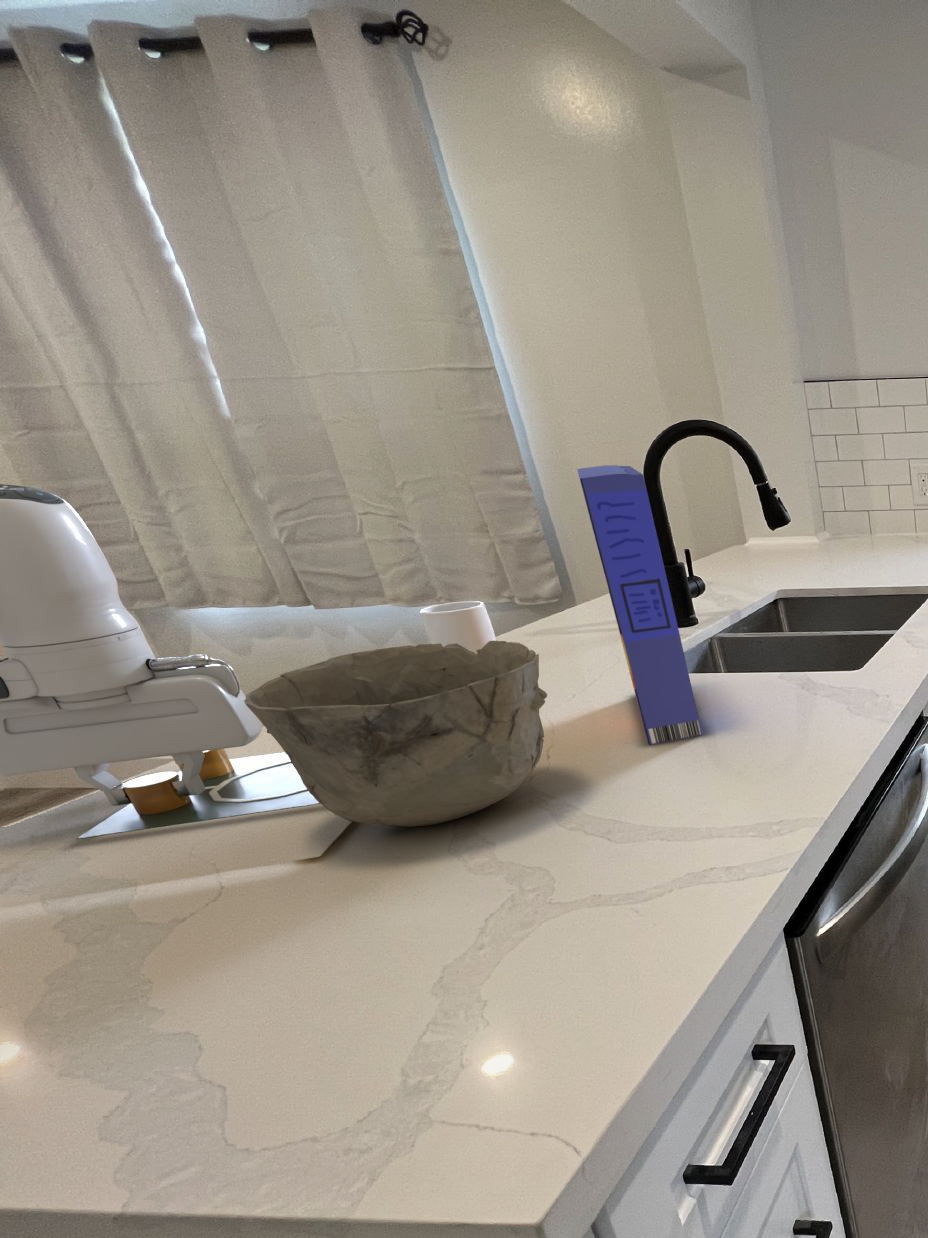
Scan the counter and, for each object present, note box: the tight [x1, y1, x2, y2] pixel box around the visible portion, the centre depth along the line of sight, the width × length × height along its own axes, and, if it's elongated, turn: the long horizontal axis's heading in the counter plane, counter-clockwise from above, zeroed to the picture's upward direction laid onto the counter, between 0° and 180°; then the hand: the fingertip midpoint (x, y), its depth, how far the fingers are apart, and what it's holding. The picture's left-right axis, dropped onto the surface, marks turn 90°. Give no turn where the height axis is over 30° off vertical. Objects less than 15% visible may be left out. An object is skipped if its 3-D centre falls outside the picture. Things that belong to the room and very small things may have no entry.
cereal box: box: [576, 464, 703, 746], centre depth 104 cm, size 22×6×30 cm, turn 28°
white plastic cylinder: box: [420, 600, 497, 654], centre depth 108 cm, size 7×7×15 cm
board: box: [76, 751, 321, 840], centre depth 92 cm, size 20×20×1 cm
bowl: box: [244, 640, 548, 828], centre depth 82 cm, size 22×22×15 cm
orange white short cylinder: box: [123, 771, 191, 815], centre depth 86 cm, size 4×4×3 cm
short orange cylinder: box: [177, 748, 234, 781], centre depth 94 cm, size 4×4×3 cm
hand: (160, 798), depth 86 cm, fingers closed on orange white short cylinder, 4 cm apart
